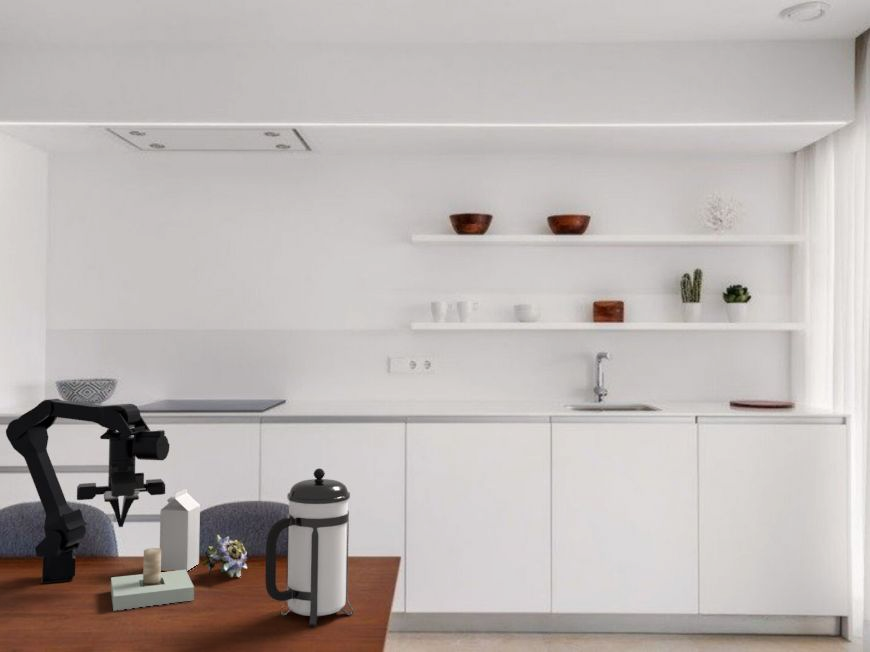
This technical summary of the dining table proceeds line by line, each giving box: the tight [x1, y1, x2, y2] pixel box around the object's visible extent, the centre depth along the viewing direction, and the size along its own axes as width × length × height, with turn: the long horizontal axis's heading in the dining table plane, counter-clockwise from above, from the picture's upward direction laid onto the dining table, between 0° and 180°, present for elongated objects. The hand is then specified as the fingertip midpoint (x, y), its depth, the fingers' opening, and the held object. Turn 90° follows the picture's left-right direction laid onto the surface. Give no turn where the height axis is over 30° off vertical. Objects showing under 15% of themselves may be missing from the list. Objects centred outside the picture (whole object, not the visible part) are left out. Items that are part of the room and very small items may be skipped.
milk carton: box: [159, 488, 201, 571], centre depth 189 cm, size 7×7×19 cm
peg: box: [142, 547, 161, 587], centre depth 168 cm, size 4×4×10 cm
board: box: [110, 570, 195, 612], centre depth 168 cm, size 16×14×3 cm
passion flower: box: [202, 534, 248, 579], centre depth 184 cm, size 11×11×12 cm
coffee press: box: [265, 468, 354, 628], centre depth 157 cm, size 17×16×30 cm
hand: (120, 526), depth 177 cm, fingers closed
